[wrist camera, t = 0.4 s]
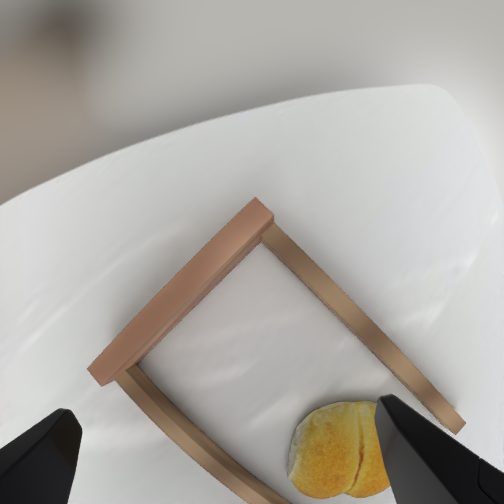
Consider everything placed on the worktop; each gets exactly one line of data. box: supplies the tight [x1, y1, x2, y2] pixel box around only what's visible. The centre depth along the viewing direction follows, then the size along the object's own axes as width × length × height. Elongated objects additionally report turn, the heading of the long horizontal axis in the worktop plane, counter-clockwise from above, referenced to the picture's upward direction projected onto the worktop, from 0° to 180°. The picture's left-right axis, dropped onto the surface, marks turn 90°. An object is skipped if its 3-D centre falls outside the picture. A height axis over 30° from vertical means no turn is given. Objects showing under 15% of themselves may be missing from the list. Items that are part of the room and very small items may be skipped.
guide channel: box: [87, 197, 466, 504], centre depth 19 cm, size 22×15×4 cm
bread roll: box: [287, 401, 390, 499], centre depth 18 cm, size 8×9×4 cm
